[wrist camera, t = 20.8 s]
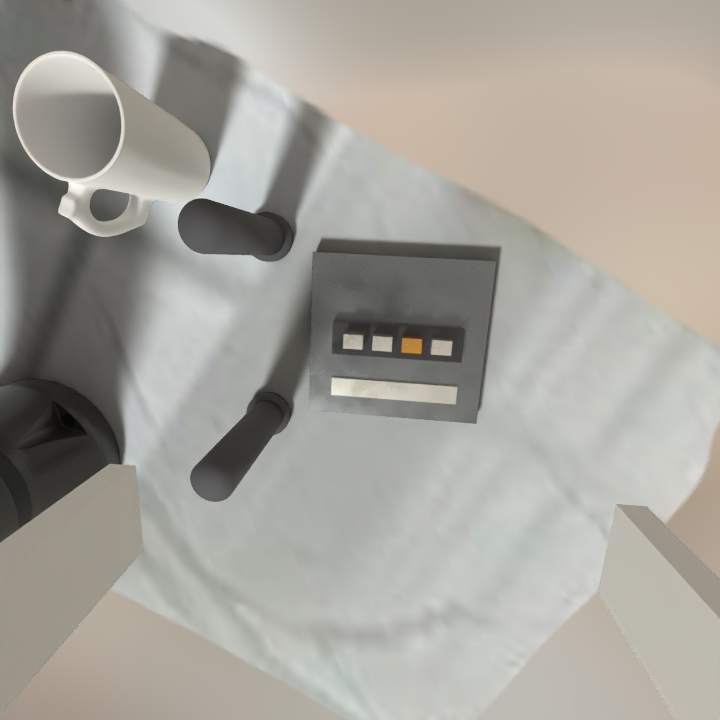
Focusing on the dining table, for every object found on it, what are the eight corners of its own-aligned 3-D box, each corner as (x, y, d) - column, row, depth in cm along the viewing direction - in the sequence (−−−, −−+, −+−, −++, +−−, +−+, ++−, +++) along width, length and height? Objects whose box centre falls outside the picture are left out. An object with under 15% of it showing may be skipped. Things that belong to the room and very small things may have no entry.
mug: (149, 106, 35) (24, 29, 23) (225, 139, 35) (138, 79, 23) (119, 224, 37) (-7, 209, 26) (189, 255, 37) (95, 253, 26)
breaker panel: (311, 405, 40) (304, 418, 36) (315, 251, 36) (307, 251, 33) (473, 418, 38) (480, 432, 35) (493, 261, 35) (502, 261, 32)
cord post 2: (249, 430, 41) (184, 505, 28) (249, 390, 40) (181, 450, 27) (290, 433, 40) (242, 511, 28) (290, 393, 39) (241, 455, 27)
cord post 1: (247, 260, 37) (171, 261, 24) (247, 212, 36) (167, 187, 24) (292, 262, 37) (238, 264, 24) (293, 214, 36) (237, 190, 23)
